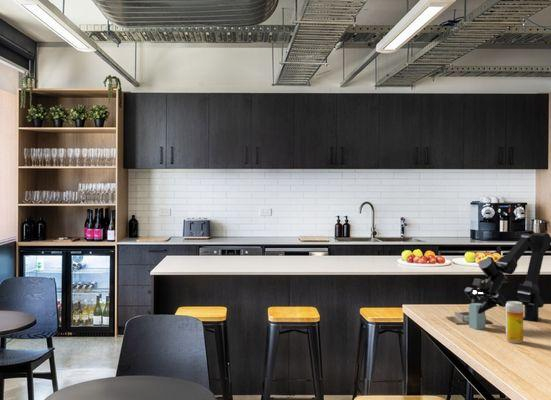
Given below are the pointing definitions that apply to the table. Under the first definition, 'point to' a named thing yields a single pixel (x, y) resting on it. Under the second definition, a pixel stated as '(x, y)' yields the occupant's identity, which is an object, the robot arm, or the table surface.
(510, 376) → the table surface
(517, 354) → the table surface
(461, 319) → the brown framed base board
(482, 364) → the table surface
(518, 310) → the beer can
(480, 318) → the pale blue box
